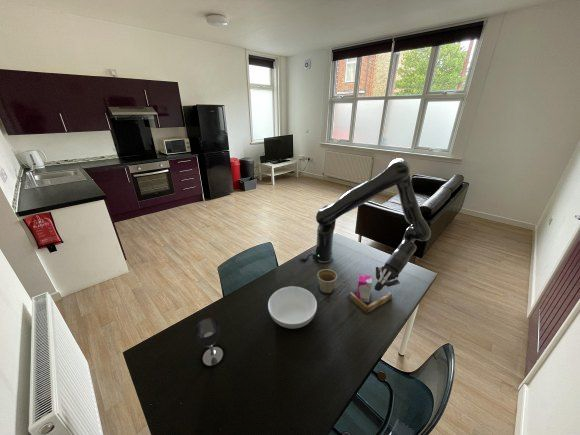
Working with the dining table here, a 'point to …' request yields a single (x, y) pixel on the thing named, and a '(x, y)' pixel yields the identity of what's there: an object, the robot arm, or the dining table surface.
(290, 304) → the serving bowl
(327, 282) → the flower pot
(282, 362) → the dining table surface
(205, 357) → the wine glass
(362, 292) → the supplement box
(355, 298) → the corner fence
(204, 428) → the dining table surface
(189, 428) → the dining table surface
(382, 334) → the dining table surface
